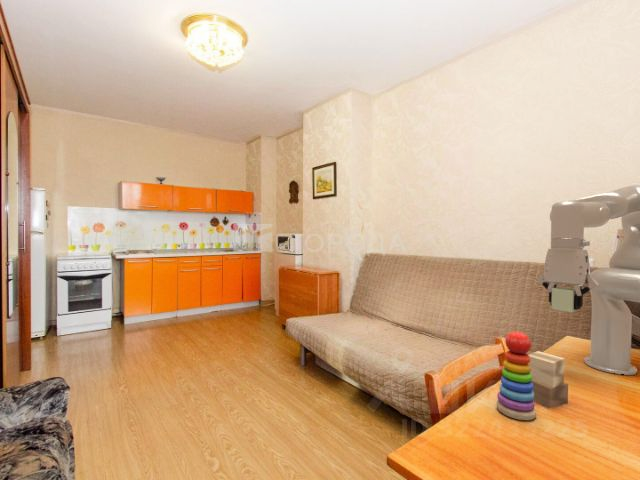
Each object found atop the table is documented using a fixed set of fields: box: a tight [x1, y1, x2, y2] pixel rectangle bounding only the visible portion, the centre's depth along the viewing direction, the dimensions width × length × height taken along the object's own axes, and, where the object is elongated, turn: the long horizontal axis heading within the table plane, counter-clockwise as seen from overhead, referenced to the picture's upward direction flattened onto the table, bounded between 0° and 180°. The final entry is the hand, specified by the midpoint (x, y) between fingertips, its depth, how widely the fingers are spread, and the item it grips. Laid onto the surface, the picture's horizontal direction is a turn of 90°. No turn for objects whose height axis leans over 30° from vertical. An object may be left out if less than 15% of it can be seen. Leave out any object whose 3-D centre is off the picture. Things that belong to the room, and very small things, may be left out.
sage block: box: [550, 286, 580, 313], centre depth 94 cm, size 5×5×6 cm
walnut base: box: [531, 380, 569, 410], centre depth 82 cm, size 7×7×5 cm
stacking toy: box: [496, 331, 537, 421], centre depth 75 cm, size 8×8×19 cm
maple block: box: [528, 350, 565, 388], centre depth 82 cm, size 6×6×6 cm
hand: (565, 306), depth 94 cm, fingers closed on sage block, 5 cm apart
